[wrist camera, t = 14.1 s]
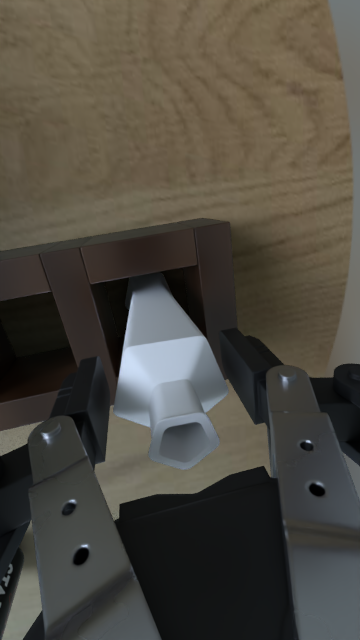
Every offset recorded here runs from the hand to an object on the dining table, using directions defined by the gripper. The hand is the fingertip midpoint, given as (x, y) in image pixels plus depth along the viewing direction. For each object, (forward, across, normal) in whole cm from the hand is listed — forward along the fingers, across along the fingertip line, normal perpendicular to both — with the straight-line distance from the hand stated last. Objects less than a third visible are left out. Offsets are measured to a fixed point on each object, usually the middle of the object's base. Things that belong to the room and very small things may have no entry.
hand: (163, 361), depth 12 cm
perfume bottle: (+11, 0, 0) cm, 11 cm away
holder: (+10, +4, 0) cm, 11 cm away
